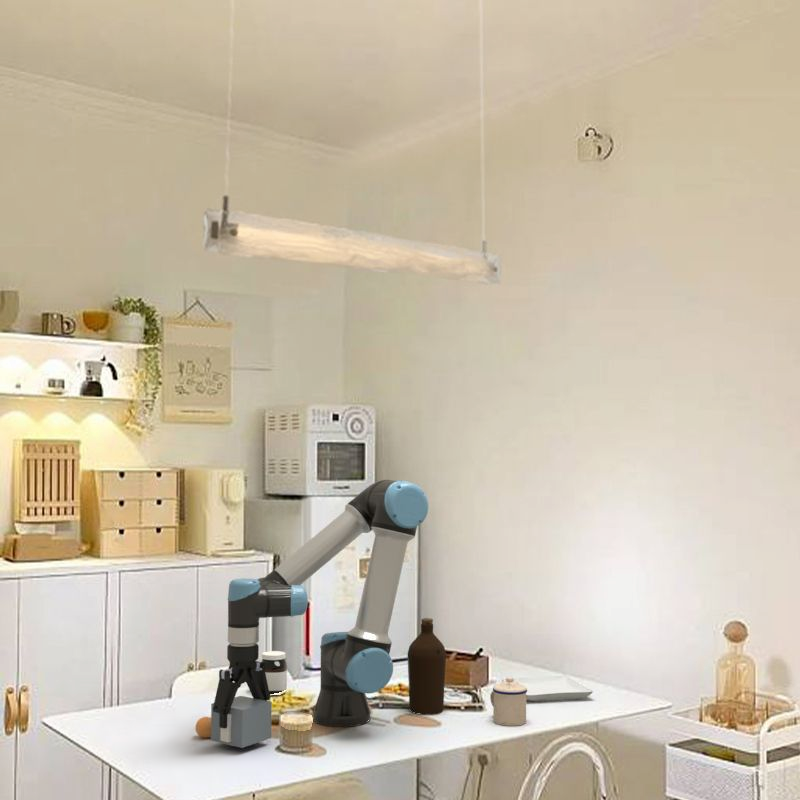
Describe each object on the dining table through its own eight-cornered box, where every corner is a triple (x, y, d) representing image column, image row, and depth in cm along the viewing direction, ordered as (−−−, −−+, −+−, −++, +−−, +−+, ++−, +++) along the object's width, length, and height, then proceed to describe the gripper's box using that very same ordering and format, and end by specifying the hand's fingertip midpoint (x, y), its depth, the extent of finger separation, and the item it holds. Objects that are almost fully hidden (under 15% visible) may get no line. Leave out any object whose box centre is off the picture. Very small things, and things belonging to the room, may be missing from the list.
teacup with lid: (534, 723, 281) (534, 678, 281) (508, 728, 276) (508, 682, 276) (503, 713, 291) (504, 670, 291) (478, 718, 285) (478, 674, 286)
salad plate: (525, 706, 301) (525, 693, 302) (500, 689, 322) (500, 677, 322) (594, 702, 306) (594, 690, 306) (566, 686, 327) (566, 674, 327)
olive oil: (450, 708, 296) (451, 617, 297) (438, 717, 286) (438, 623, 287) (415, 704, 300) (415, 615, 301) (401, 713, 290) (402, 620, 291)
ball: (220, 736, 265) (220, 716, 265) (205, 741, 261) (205, 720, 261) (205, 733, 268) (206, 713, 268) (191, 737, 264) (191, 717, 264)
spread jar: (284, 697, 307) (284, 656, 307) (245, 697, 307) (245, 656, 308) (289, 688, 319) (289, 648, 319) (251, 687, 319) (252, 648, 320)
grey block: (271, 738, 259) (271, 701, 259) (242, 747, 250) (242, 709, 251) (240, 731, 264) (240, 695, 265) (210, 740, 256) (211, 703, 256)
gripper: (263, 635, 270) (261, 723, 269) (197, 648, 251) (196, 744, 250) (285, 638, 265) (284, 728, 264) (220, 652, 247) (219, 749, 246)
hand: (241, 736), depth 257 cm, fingers closed on grey block, 10 cm apart
